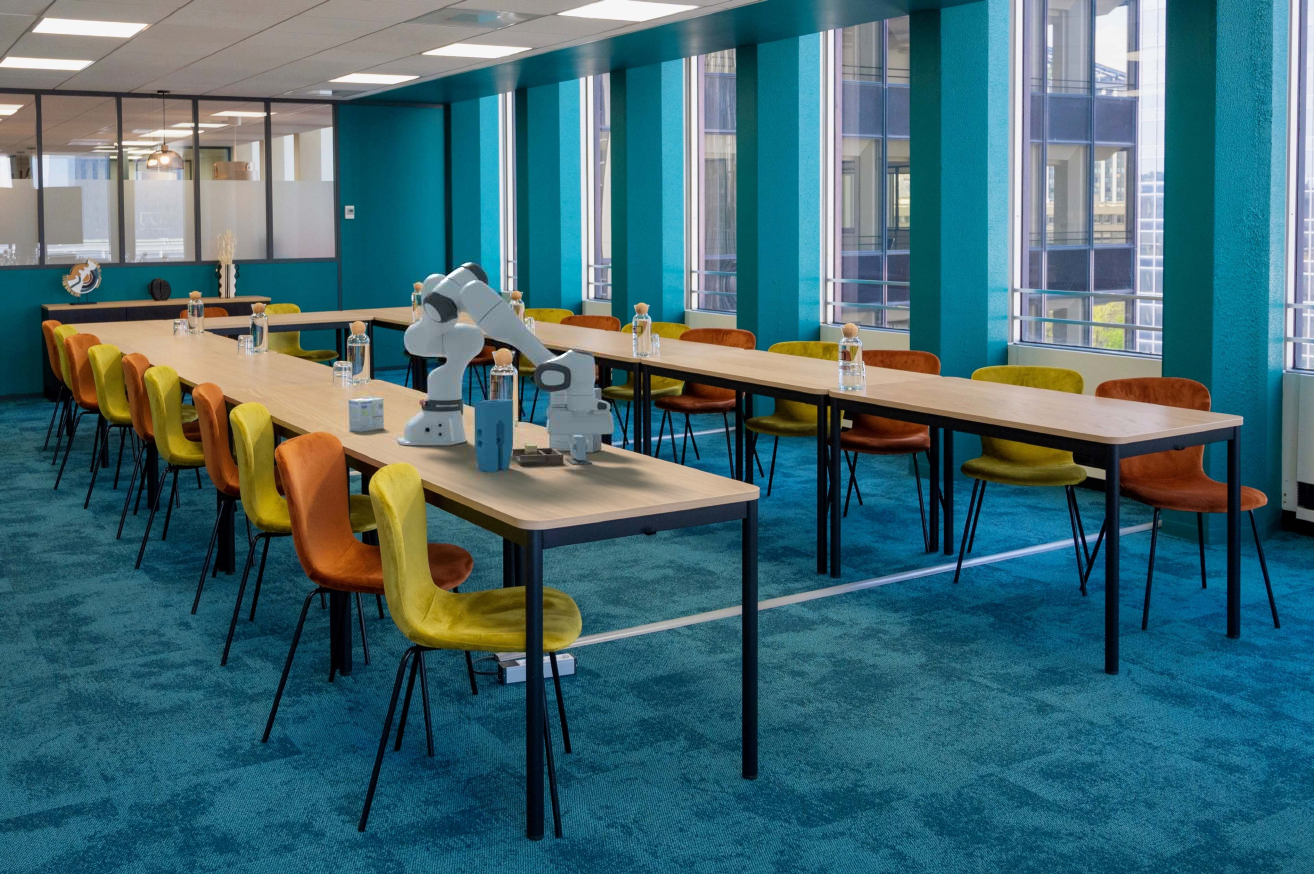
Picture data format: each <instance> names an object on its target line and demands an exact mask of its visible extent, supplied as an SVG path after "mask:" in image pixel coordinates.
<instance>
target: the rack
mask: <svg viewBox="0 0 1314 874" xmlns="http://www.w3.org/2000/svg"><path fill="white" fill-rule="evenodd" d="M511 459H512V460H514V462H515V463H517V464H518V465H519V466H520V467H528V466H529V467H531V466H533V467H534V466H554V465H555V466H557V465H565V464H564V461H565V457H564V454H563V453H561V452H560V451H559V450H556V449H555V448H550V447H537V455H525V448H513V449H512V454H511Z"/></svg>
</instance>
